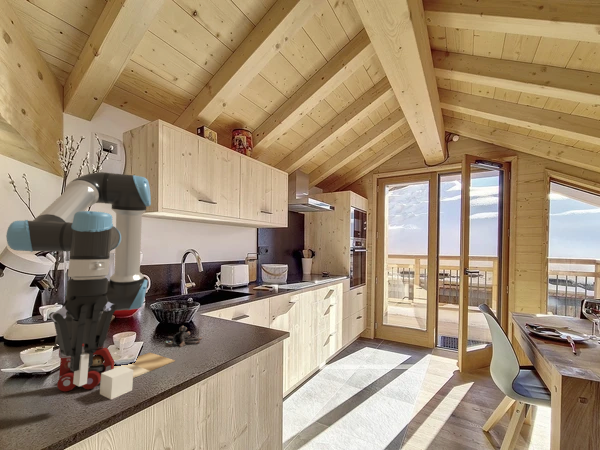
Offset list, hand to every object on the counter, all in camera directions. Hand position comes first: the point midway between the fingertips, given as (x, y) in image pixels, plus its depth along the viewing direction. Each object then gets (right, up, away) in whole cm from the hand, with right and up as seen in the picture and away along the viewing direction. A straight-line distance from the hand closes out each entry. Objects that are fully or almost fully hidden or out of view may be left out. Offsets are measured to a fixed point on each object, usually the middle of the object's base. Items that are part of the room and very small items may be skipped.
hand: (80, 383), depth 62 cm
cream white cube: (+4, -6, +7) cm, 10 cm away
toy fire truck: (-7, -6, +10) cm, 14 cm away
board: (0, -7, +21) cm, 22 cm away
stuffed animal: (+4, -10, +44) cm, 45 cm away
